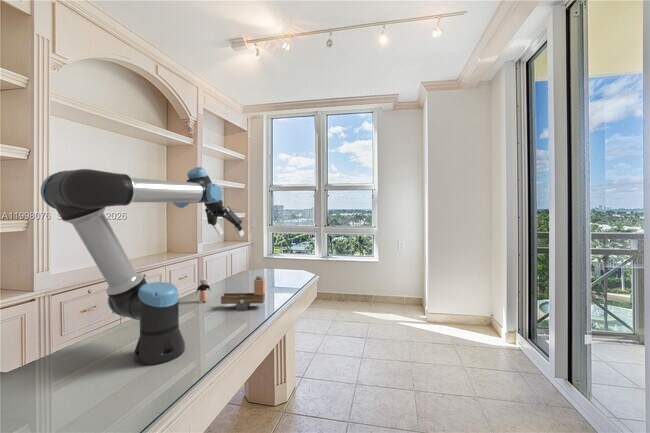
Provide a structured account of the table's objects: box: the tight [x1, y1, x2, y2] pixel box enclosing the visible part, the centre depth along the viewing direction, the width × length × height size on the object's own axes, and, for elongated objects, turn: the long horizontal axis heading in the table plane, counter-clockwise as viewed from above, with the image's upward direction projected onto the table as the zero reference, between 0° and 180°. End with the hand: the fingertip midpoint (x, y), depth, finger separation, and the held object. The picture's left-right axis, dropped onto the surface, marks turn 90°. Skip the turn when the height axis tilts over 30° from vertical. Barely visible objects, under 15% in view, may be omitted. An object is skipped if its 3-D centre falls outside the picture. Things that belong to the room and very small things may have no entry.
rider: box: [253, 275, 266, 295], centre depth 149 cm, size 4×4×10 cm
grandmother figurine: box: [195, 277, 212, 304], centre depth 159 cm, size 8×4×13 cm, turn 143°
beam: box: [220, 292, 266, 311], centre depth 149 cm, size 7×20×7 cm, turn 92°
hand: (231, 234), depth 150 cm, fingers open, 13 cm apart
